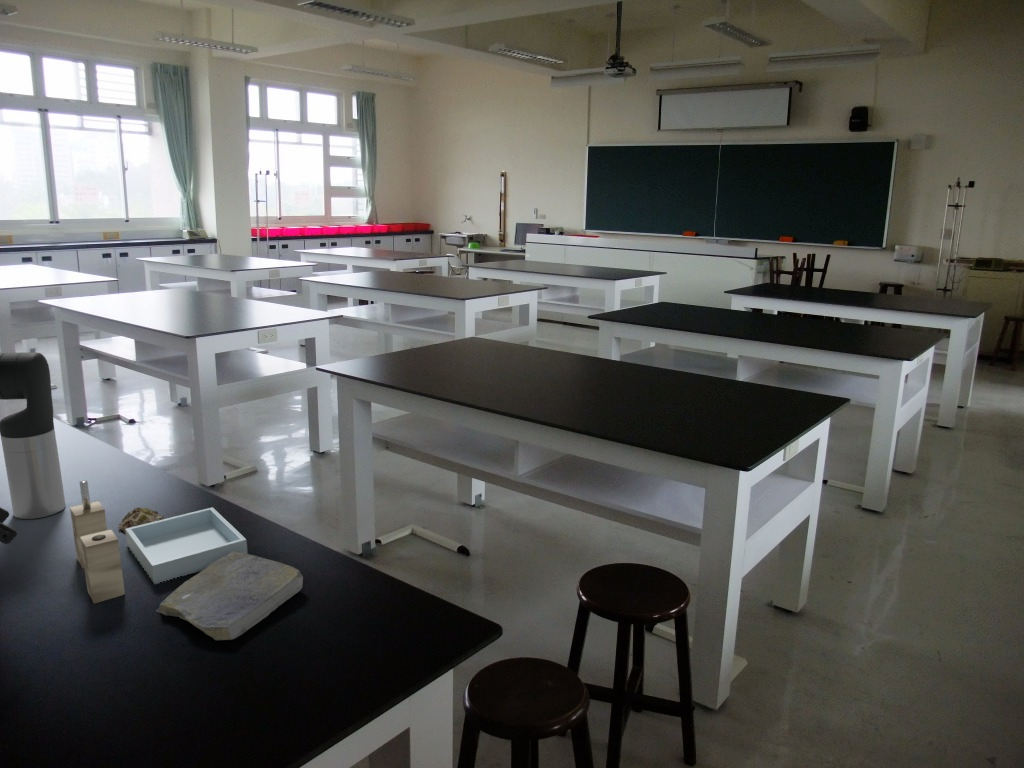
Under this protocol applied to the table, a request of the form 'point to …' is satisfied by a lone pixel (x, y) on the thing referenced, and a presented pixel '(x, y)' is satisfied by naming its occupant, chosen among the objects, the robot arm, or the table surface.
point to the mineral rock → (139, 518)
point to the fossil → (233, 594)
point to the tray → (183, 543)
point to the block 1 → (86, 519)
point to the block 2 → (102, 565)
